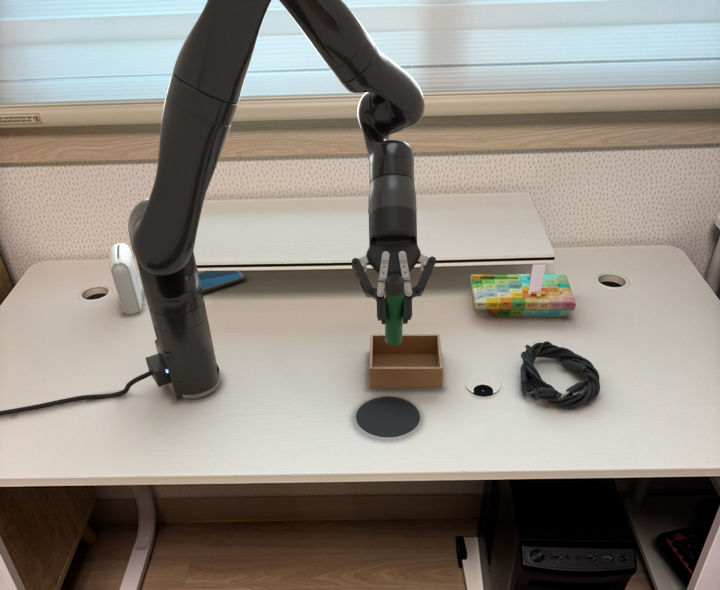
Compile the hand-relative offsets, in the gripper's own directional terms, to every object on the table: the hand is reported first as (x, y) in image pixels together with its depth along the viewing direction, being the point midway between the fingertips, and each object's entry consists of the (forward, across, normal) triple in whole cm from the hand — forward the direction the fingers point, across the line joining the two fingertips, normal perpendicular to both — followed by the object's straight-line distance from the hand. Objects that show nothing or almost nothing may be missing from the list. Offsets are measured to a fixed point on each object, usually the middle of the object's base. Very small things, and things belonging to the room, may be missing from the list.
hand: (394, 322), depth 108 cm
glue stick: (+2, 0, +5) cm, 5 cm away
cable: (+7, +30, +18) cm, 36 cm away
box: (+4, +3, +21) cm, 21 cm away
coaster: (+14, -1, +11) cm, 18 cm away
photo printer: (-15, -54, +40) cm, 69 cm away
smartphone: (-20, -39, +46) cm, 63 cm away
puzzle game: (-11, +28, +37) cm, 48 cm away
